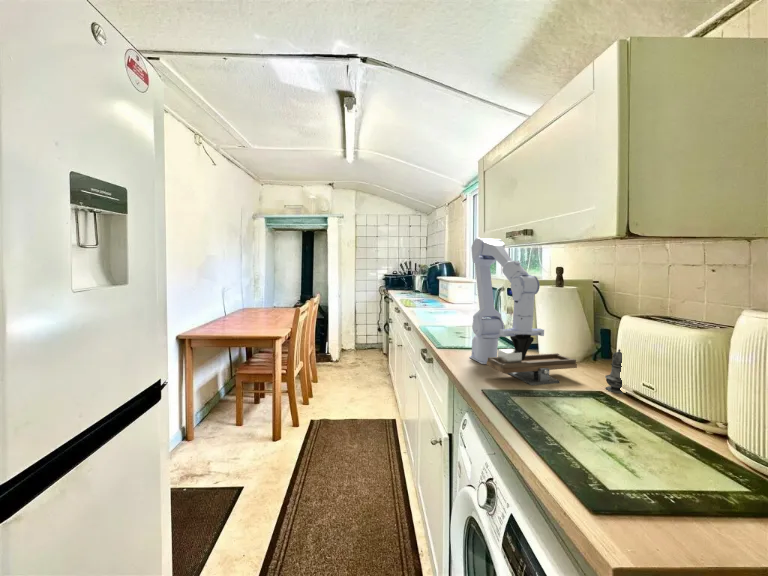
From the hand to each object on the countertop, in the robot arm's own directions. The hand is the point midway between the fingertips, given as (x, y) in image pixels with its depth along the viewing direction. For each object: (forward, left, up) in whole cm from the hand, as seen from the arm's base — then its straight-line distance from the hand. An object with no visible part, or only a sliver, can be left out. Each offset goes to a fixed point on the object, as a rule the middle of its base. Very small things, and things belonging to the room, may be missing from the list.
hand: (520, 359), depth 112 cm
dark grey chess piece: (+15, +21, -6) cm, 27 cm away
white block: (0, -4, -1) cm, 4 cm away
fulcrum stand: (0, +4, -6) cm, 7 cm away
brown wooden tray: (0, +4, -2) cm, 5 cm away
